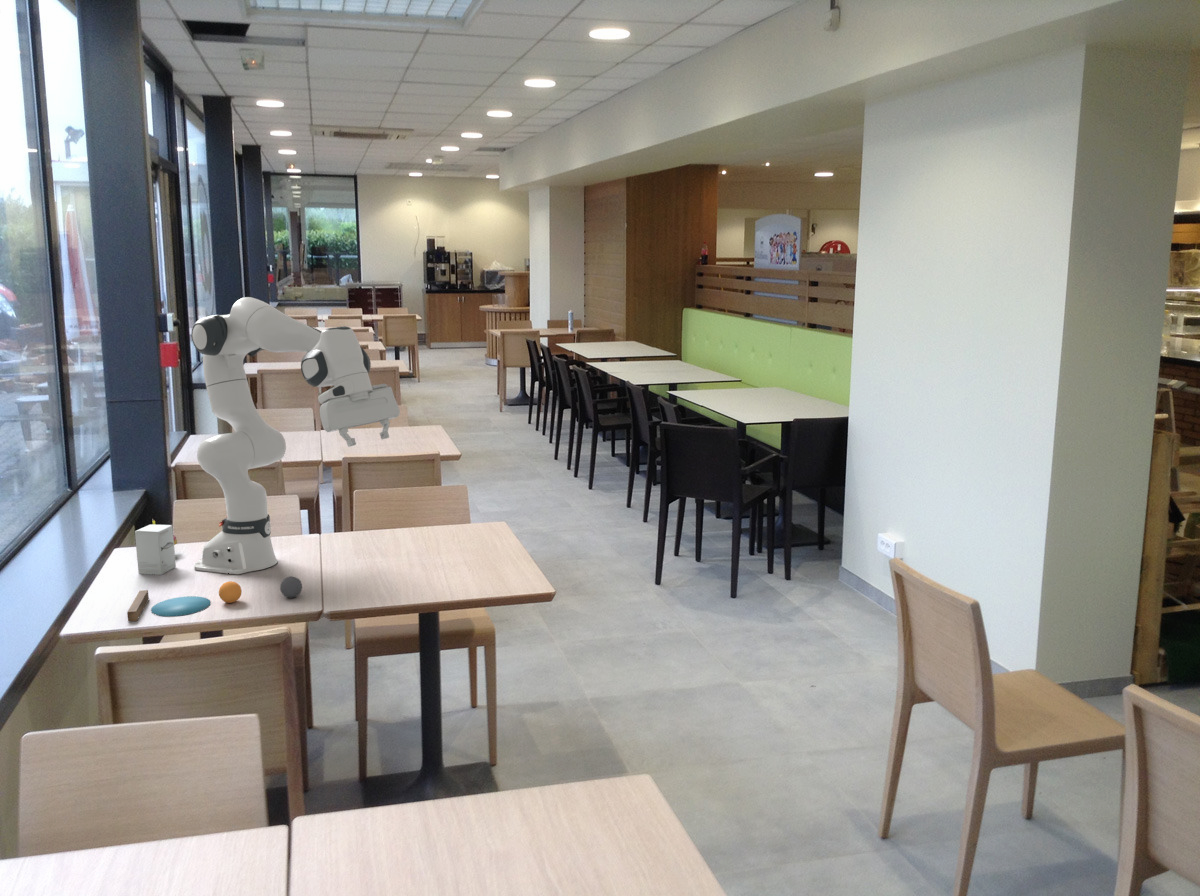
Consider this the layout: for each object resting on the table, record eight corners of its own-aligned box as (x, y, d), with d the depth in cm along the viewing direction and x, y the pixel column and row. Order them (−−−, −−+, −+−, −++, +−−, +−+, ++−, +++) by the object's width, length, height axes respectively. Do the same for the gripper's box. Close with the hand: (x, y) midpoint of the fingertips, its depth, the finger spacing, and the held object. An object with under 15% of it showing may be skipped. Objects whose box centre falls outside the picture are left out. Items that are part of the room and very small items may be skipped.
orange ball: (215, 605, 253) (214, 585, 252) (226, 598, 259) (224, 578, 258) (236, 606, 253) (234, 585, 252) (246, 598, 258) (244, 578, 257)
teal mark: (139, 615, 247) (139, 614, 247) (169, 596, 260) (169, 595, 260) (193, 617, 245) (193, 616, 245) (220, 598, 259) (220, 597, 259)
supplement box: (162, 575, 277) (157, 531, 275) (137, 574, 278) (133, 530, 276) (177, 567, 284) (173, 524, 282) (153, 566, 285) (149, 523, 283)
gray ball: (277, 600, 257) (275, 580, 256) (286, 593, 262) (284, 573, 261) (297, 601, 256) (296, 580, 255) (306, 593, 262) (304, 573, 261)
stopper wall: (128, 621, 242) (127, 612, 242) (140, 599, 258) (139, 590, 257) (137, 620, 243) (136, 611, 242) (148, 599, 258) (147, 590, 258)
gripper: (384, 385, 256) (398, 436, 256) (311, 398, 243) (327, 452, 242) (395, 379, 251) (410, 431, 251) (322, 392, 238) (338, 447, 238)
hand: (369, 442), depth 247 cm, fingers open, 8 cm apart
